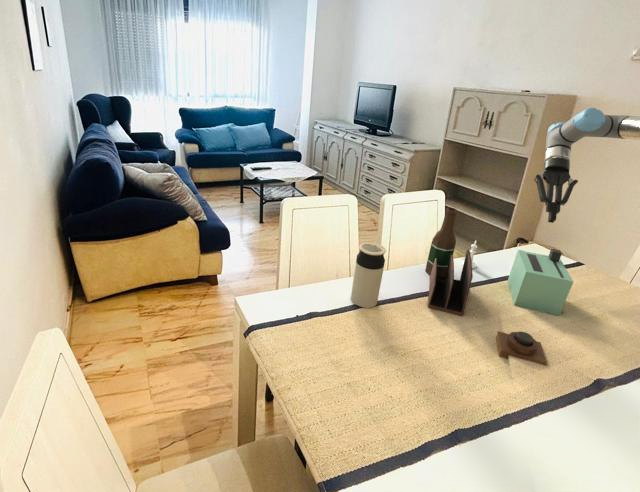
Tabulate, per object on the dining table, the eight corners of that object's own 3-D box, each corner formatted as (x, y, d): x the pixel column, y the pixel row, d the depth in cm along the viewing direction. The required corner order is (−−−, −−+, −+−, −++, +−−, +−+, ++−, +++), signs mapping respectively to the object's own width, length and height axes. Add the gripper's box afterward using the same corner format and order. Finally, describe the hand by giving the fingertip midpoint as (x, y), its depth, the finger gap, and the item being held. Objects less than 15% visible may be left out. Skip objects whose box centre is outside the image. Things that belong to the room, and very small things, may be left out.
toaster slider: (556, 258, 122) (560, 250, 121) (558, 261, 120) (562, 253, 119) (548, 256, 123) (551, 248, 122) (549, 260, 121) (553, 251, 120)
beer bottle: (426, 277, 132) (442, 212, 122) (423, 266, 139) (437, 203, 129) (450, 280, 131) (467, 214, 121) (445, 268, 138) (461, 206, 128)
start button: (529, 339, 98) (531, 333, 97) (532, 348, 95) (534, 342, 94) (513, 335, 99) (516, 329, 99) (516, 343, 96) (518, 338, 96)
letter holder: (460, 284, 129) (471, 246, 123) (463, 316, 112) (475, 275, 106) (429, 276, 132) (438, 239, 126) (427, 307, 115) (437, 266, 109)
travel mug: (366, 312, 111) (375, 257, 104) (345, 299, 117) (352, 246, 110) (382, 302, 116) (392, 249, 109) (361, 290, 122) (369, 239, 114)
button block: (538, 348, 100) (542, 336, 99) (544, 369, 94) (549, 356, 92) (495, 337, 104) (499, 325, 102) (498, 356, 97) (503, 344, 95)
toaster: (548, 289, 128) (560, 257, 123) (559, 316, 115) (574, 281, 110) (507, 280, 132) (518, 249, 127) (514, 305, 119) (526, 271, 114)
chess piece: (459, 264, 141) (466, 240, 137) (464, 260, 145) (471, 236, 141) (473, 269, 138) (480, 245, 134) (478, 265, 142) (485, 241, 138)
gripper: (573, 170, 139) (569, 229, 131) (532, 165, 143) (526, 221, 136) (583, 159, 132) (579, 219, 125) (540, 154, 137) (533, 212, 129)
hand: (551, 220), depth 130 cm, fingers closed
